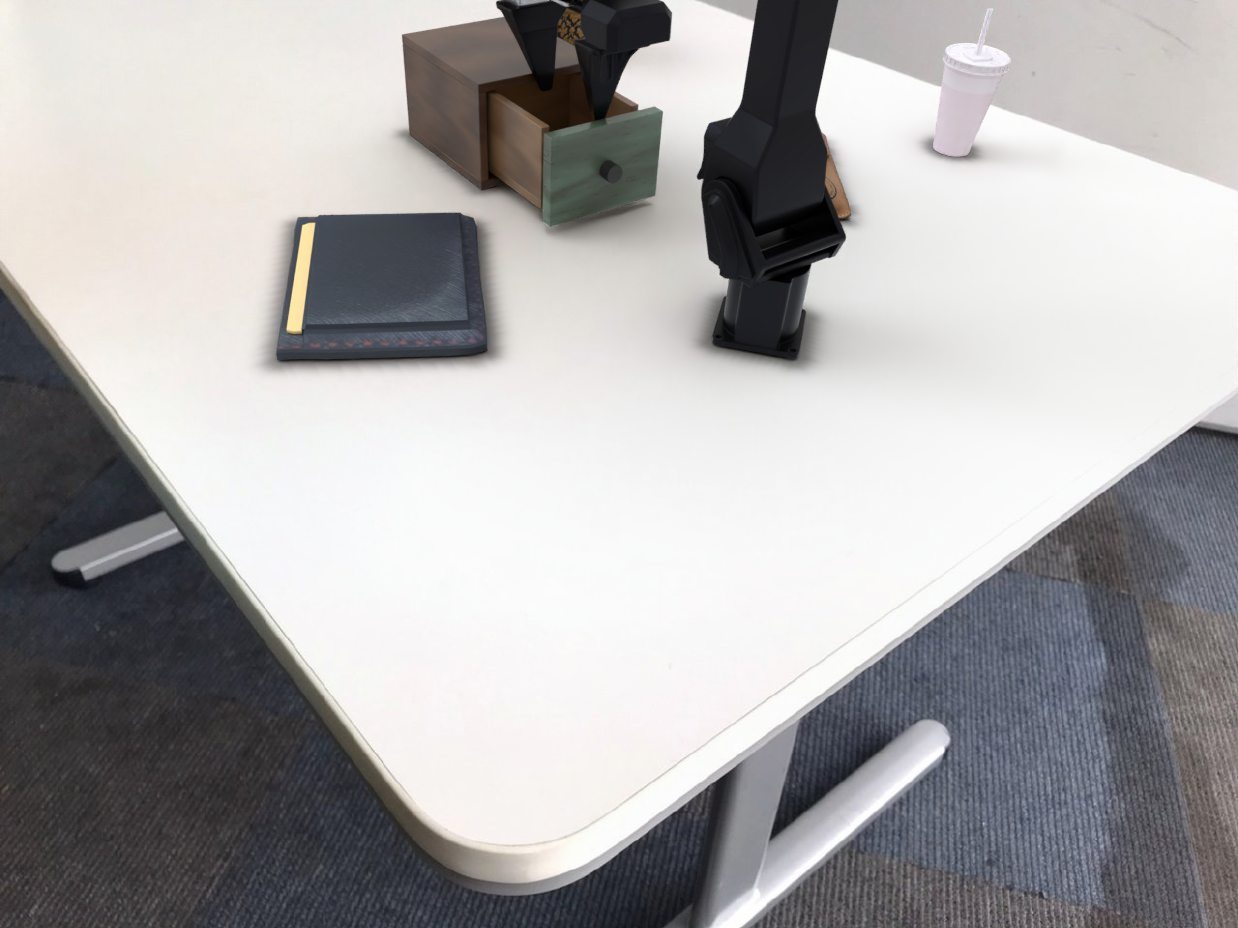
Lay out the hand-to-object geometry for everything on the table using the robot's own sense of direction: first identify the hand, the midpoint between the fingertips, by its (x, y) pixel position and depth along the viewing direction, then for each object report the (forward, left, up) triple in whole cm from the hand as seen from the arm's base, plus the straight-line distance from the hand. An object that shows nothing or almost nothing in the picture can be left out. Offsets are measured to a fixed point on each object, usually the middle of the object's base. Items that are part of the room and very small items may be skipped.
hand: (571, 104), depth 87 cm
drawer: (0, 0, -8) cm, 8 cm away
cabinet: (+7, +9, -8) cm, 14 cm away
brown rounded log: (+12, -19, -9) cm, 24 cm away
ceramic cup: (+36, +11, -9) cm, 38 cm away
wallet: (-19, +9, -9) cm, 23 cm away
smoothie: (+24, -35, -9) cm, 43 cm away
